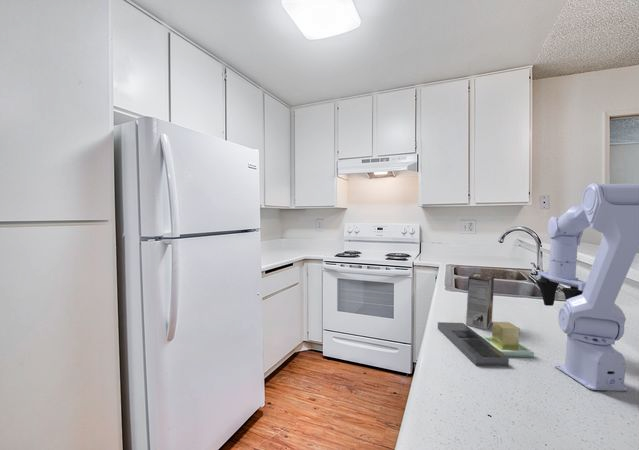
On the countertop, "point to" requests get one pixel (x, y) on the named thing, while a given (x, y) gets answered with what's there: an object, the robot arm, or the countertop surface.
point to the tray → (521, 351)
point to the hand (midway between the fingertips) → (559, 309)
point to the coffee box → (480, 300)
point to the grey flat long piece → (473, 345)
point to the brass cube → (505, 336)
